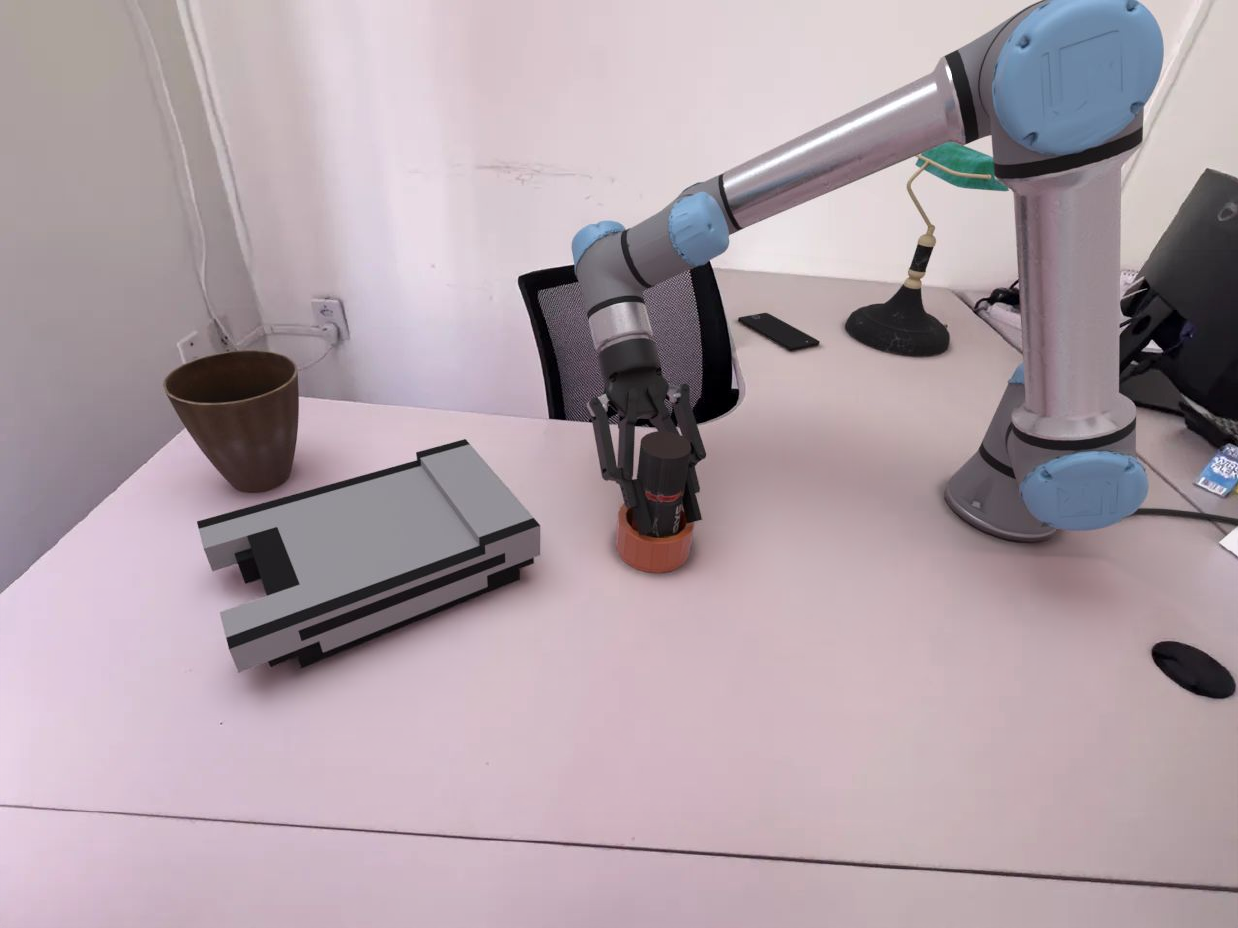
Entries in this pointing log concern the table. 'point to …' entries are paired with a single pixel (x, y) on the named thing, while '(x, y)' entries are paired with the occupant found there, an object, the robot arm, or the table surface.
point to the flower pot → (240, 414)
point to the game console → (368, 555)
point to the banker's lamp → (921, 265)
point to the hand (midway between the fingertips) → (670, 527)
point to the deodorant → (663, 480)
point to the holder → (652, 545)
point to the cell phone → (779, 331)
